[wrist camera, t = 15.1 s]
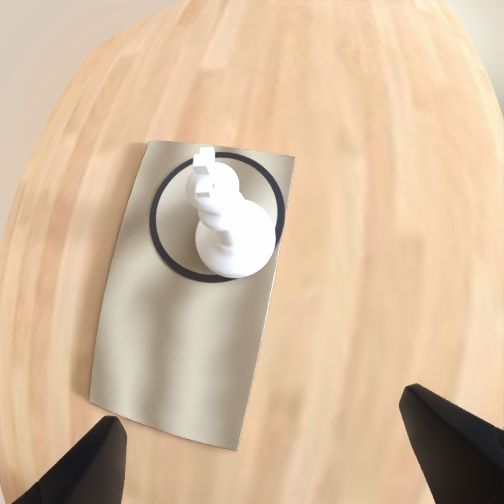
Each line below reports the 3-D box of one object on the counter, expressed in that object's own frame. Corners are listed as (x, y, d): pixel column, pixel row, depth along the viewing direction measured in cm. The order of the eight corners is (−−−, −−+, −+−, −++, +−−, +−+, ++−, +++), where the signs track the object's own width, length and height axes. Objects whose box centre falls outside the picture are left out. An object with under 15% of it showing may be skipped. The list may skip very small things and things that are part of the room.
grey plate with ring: (295, 160, 20) (296, 155, 20) (238, 447, 17) (236, 452, 16) (152, 143, 21) (148, 138, 21) (92, 400, 18) (87, 402, 17)
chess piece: (194, 277, 18) (116, 236, 9) (199, 201, 19) (142, 106, 10) (274, 279, 18) (281, 238, 8) (275, 201, 19) (279, 98, 9)
